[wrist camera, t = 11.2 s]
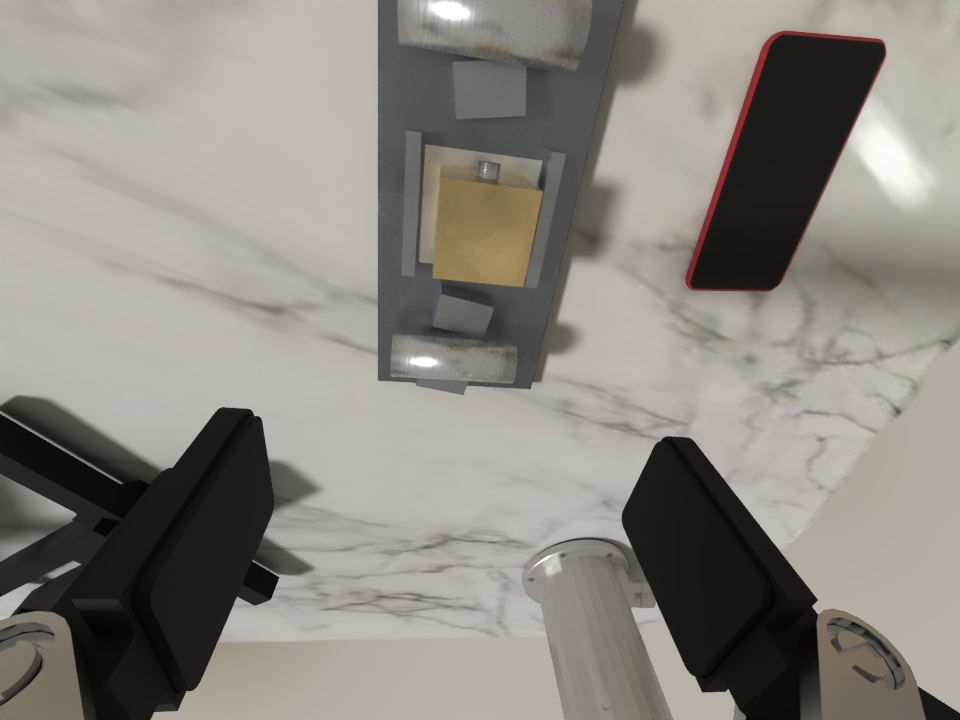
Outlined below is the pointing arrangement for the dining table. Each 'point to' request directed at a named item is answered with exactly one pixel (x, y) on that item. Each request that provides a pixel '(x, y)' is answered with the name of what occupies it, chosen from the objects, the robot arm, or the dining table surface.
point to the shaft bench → (462, 143)
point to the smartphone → (781, 156)
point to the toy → (75, 519)
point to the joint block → (484, 225)
